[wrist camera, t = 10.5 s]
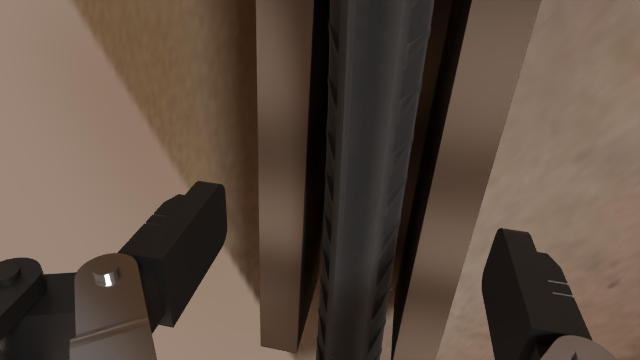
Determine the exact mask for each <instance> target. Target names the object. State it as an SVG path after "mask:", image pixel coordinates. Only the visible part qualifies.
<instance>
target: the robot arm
mask: <svg viewBox="0 0 640 360" xmlns="http://www.w3.org/2000/svg"><path fill="white" fill-rule="evenodd" d="M226 234H227V214H226V198H225V188H224V186H223V185H222V184H215V183H209V182H202V181H197V182H196V183H195V184H194V185H193V186H192V188H191V189H190V190H189V191H188V192H187V193H186V195H180V194H178V195H177V196H175V197H173V198H171V199H169V200H167V201H166V202H164V203H163V204H162V205H161V206H160V207H159V208H158V209H157V211H156V212H155V213H154V215H152V216H151V217H150V218H149V219H148V220H147V222H146V224H144V225H143V226H142V227H141V228H140V229H139V230H138V231H137V232H136V233H135V234H134V235H133V237H132V238H131V239H130V240H129V241H128V242H127V243H126V244H125V245H124V246H123V247H122V248H121V250H120V251H119V252H118V253H113V254H106V255H102V256H99V257H96V258H94V259H92V260H90V261H88V262H87V263H85V264H84V265H83V266H81V268H80V269H79V270H78V271H77V272H75V273H62V274H61V273H60V274H43V271H42V268H41V265H40V264H39V263H38V262H37V261H36V260H34V259H30V258H13V259H8V260H5V261H1V262H0V360H157V358H156V353H155V348H154V343H153V338H152V333H153V332H154V330H155V329H156V327H157V326H158V325H163V326H168V327H174V325H175V324H176V322H177V321H178V319H179V317H180V316H181V314H182V312H183V311H184V309H185V307H186V305H187V304H188V302H189V301H190V299H191V297H192V296H193V294H194V292H195V291H196V289H197V287H198V286H199V284H200V283H201V281H202V279H203V278H204V276H205V274H206V273H207V271H208V269H209V268H210V266H211V264H212V263H213V261H214V260H215V258H216V256H217V255H218V253H219V251H220V250H221V248H222V246H223V244H224V242H225V238H226ZM482 294H483V299H484V304H485V309H486V315H487V320H488V325H489V331H490V336H491V341H492V346H493V352H494V357H495V360H617V359H616V357H615V356H614V355H612V354H611V353H610V352H609V351H608V350H607V349H605V348H604V347H602V346H601V345H599V344H597V343H596V342H594V341H592V338H591V336H590V334H589V331H588V329H587V327H586V324H585V322H584V320H583V318H582V315H581V313H580V311H579V308H578V306H577V304H576V301H575V299H574V298H572V292H571V290H570V288H569V285H567V281H566V279H565V276H564V274H563V272H562V269H561V267H560V266H559V265H558V264H557V263H556V262H555V261H554V260H553V259H552V258H551V257H550V256H549V255H548V254H546V253H540V252H537V251H536V248H535V245H534V243H533V240H532V238H531V235H530V234H529V233H528V232H523V231H516V230H510V229H503V228H500V229H498V231H497V233H496V235H495V238H494V241H493V244H492V247H491V250H490V253H489V256H488V259H487V262H486V265H485V268H484V272H483V277H482Z"/></svg>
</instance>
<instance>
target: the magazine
mask: <svg viewBox="0 0 640 360" xmlns="http://www.w3.org/2000/svg"><path fill="white" fill-rule="evenodd" d="M433 6H434V0H330V20H329V74H328V119H327V125H326V134H327V153H326V166H325V176H326V182H325V207H324V212H323V214H324V229H323V243H322V270H321V275H320V281H321V289H320V307H319V323H318V337H317V352H316V360H380V354H381V351H382V348H381V346H382V339H383V332H384V326H385V323H386V319H385V318H386V311H387V305H388V298H389V292H390V289H391V285H390V284H391V277H392V271H393V264H394V260H395V256H396V253H395V250H396V244H397V237H398V230H399V225H400V222H401V218H400V217H401V210H402V204H403V197H404V191H405V184H406V182H407V177H408V175H407V171H408V164H409V158H410V152H411V145H412V142H413V138H414V134H413V132H414V126H415V119H416V113H417V107H418V100H419V94H420V91H421V87H422V82H421V81H422V75H423V68H424V62H425V56H426V50H427V43H428V38H429V37H430V31H431V26H430V25H431V18H432V12H433Z"/></svg>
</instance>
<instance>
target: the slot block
mask: <svg viewBox="0 0 640 360" xmlns="http://www.w3.org/2000/svg"><path fill="white" fill-rule="evenodd" d="M540 3H541V0H434V6H433V12H432V18H431V25H430V26H431V31H430V37H429V38H428V43H427V50H426V56H425V62H424V68H423V75H422V81H421V82H422V87H421V91H420V94H419V100H418V107H417V113H416V119H415V126H414V132H413V134H414V138H413V142H412V145H411V152H410V158H409V164H408V171H407V175H408V177H407V182H406V184H405V191H404V197H403V204H402V210H401V217H400V218H401V222H400V225H399V230H398V237H397V244H396V250H395V253H396V256H395V260H394V264H393V271H392V277H391V284H390V285H391V289H390V290H391V291H395V298H394V316H393V334H392V351H391V360H435V359H436V356H437V353H438V349H439V346H440V342H441V339H442V336H443V332H444V329H445V325H446V322H447V319H448V315H449V312H450V309H451V305H452V302H453V298H454V295H455V292H456V288H457V285H458V281H459V278H460V275H461V271H462V268H463V264H464V261H465V258H466V254H467V251H468V247H469V244H470V241H471V237H472V234H473V230H474V227H475V224H476V220H477V217H478V213H479V210H480V207H481V203H482V200H483V197H484V193H485V190H486V186H487V183H488V180H489V176H490V173H491V169H492V166H493V163H494V159H495V156H496V152H497V149H498V146H499V142H500V139H501V135H502V132H503V129H504V125H505V122H506V118H507V115H508V112H509V108H510V105H511V102H512V98H513V95H514V91H515V88H516V85H517V81H518V78H519V74H520V71H521V68H522V64H523V61H524V57H525V54H526V51H527V47H528V44H529V40H530V37H531V34H532V30H533V27H534V23H535V20H536V17H537V13H538V10H539V7H540ZM329 20H330V0H256V44H257V115H258V185H259V256H260V323H261V346H263V347H268V348H273V349H278V350H283V351H287V352H292V353H297V351H298V347H299V344H300V340H301V337H302V333H303V329H304V326H305V322H306V319H307V315H308V312H309V308H310V305H311V301H312V298H313V294H314V291H315V287H316V283H317V280H318V278H320V275H321V270H322V243H323V229H324V214H323V212H324V207H325V182H326V176H325V166H326V153H327V134H326V125H327V119H328V74H329Z"/></svg>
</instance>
